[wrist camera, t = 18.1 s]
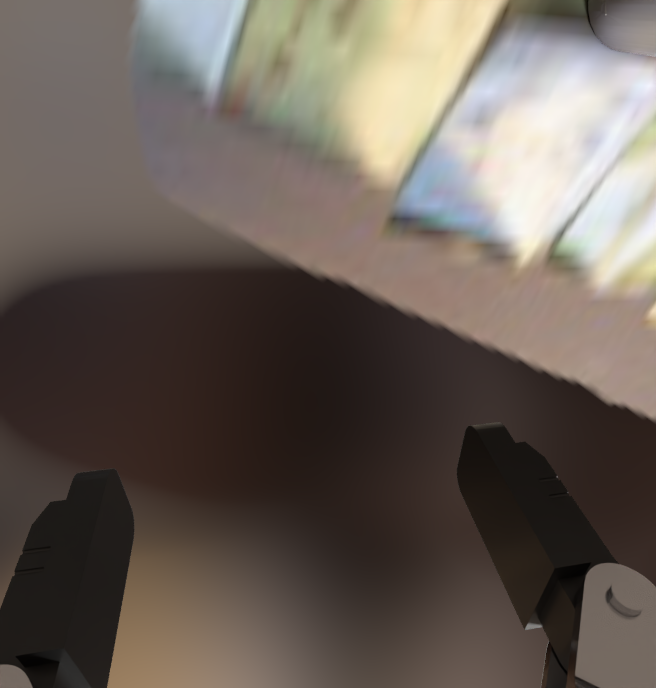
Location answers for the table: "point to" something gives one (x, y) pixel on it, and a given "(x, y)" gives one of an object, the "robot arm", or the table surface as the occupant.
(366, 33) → the table surface
